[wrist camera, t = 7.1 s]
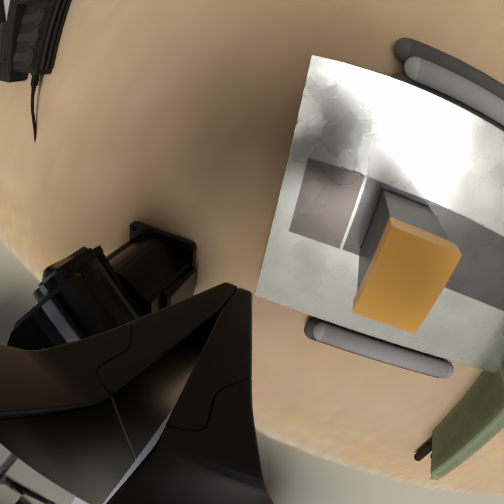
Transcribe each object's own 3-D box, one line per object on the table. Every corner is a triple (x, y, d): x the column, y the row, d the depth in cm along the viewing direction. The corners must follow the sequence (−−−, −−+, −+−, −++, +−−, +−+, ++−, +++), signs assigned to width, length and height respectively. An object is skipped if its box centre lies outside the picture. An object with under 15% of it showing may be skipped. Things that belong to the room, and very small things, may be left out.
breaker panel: (263, 280, 23) (253, 297, 21) (316, 60, 15) (311, 54, 13) (504, 360, 18) (509, 378, 16) (593, 207, 10) (607, 218, 8)
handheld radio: (542, 306, 15) (428, 450, 27) (519, 300, 16) (408, 448, 28) (569, 359, 10) (425, 492, 22) (545, 356, 11) (402, 491, 23)
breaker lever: (357, 253, 17) (351, 312, 12) (382, 187, 14) (392, 226, 10) (404, 271, 16) (414, 333, 11) (433, 208, 14) (461, 255, 9)
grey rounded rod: (303, 326, 24) (296, 350, 21) (319, 288, 22) (312, 312, 19) (441, 369, 21) (444, 393, 19) (466, 338, 19) (472, 363, 17)
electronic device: (-13, 150, 31) (-37, 159, 27) (19, -30, 14) (-8, -30, 10) (46, 192, 29) (14, 208, 24) (102, -61, 12) (66, -71, 8)
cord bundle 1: (382, 95, 14) (387, 93, 12) (395, 37, 12) (401, 25, 10) (549, 184, 12) (569, 197, 9) (563, 134, 10) (585, 141, 7)
